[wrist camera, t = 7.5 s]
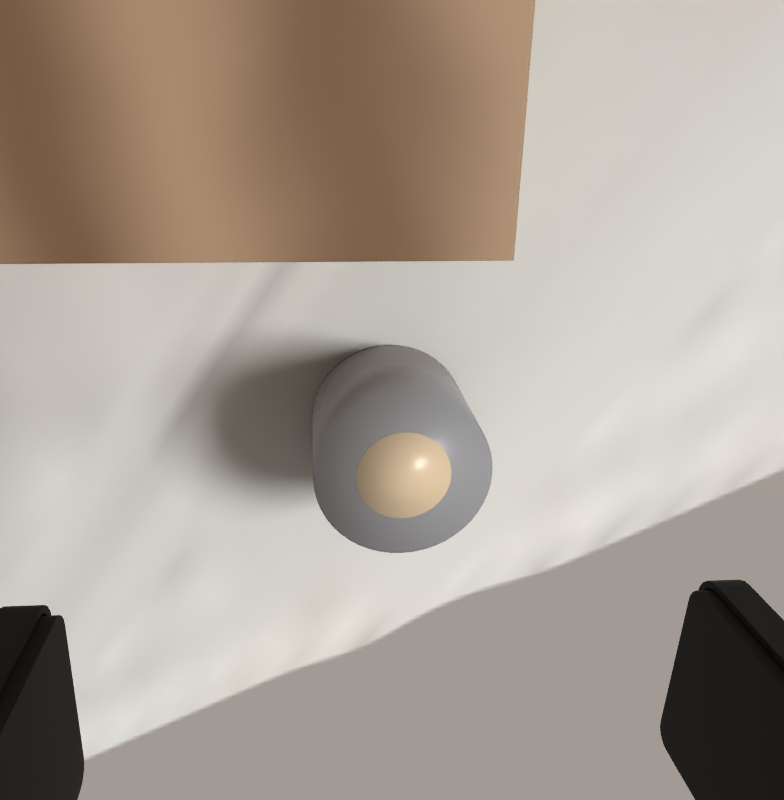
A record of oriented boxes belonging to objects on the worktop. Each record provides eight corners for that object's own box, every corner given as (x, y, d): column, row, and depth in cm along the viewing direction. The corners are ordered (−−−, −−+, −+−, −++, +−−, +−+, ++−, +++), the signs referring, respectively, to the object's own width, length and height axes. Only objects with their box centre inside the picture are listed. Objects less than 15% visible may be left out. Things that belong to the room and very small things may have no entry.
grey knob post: (466, 343, 28) (498, 390, 23) (458, 481, 30) (486, 548, 26) (310, 346, 27) (311, 395, 23) (313, 487, 30) (315, 557, 25)
